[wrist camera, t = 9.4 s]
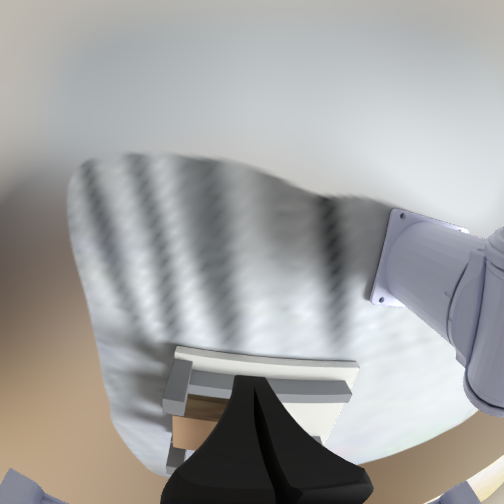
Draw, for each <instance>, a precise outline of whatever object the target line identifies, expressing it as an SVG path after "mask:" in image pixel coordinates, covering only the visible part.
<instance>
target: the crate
mask: <svg viewBox="0 0 504 504" xmlns="http://www.w3.org/2000/svg"><path fill="white" fill-rule="evenodd" d="M228 402H229V399H226V398H218V397H210V396H202V395H196V394H189V393H188V396H187V401H186V406H185V412H184V416H178V415H172V424H173V447H176V448H182V449H188V450H195V451H196V450H197V449H198V448H199V447H200V446H201V445H202V444H203V442H204V441H205V440H206V439H207V437H208V436H209V435H210V433H211V432H212V431H213V429H214V428H215V426H216V424H217V423H218V421H219V420H220V418H221V416H222V414H223V412H224V410H225V408H226V406H227V404H228Z"/></svg>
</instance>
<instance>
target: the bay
mask: <svg viewBox="0 0 504 504" xmlns="http://www.w3.org/2000/svg"><path fill="white" fill-rule="evenodd" d="M359 369H360V366H359V365H358V363H357V362H349V361H314V360H296V359H281V358H269V357H258V356H248V355H239V354H231V353H223V352H215V351H208V350H201V349H195V348H188V347H182V346H177V347H176V350H175V359H174V362H173V365H172V368H171V371H170V375H169V378H168V381H167V384H166V388H165V391H164V394H163V398H162V406H163V413H167V414H172V415H178V416H184V412H185V406H186V401H187V396H188V393H189V394H196V395H202V396H210V397H218V398H226V399H230V396H231V393H232V387H233V381H234V376H236V375H247V376H259V377H265V378H266V379H267V380H268V382H269V384H270V386H271V387H272V389H273V391H274V392H275V394H276V395H277V397H278V398H279V400H280V401H281V403H282V404H283V405H284V407H285V408H286V410H287V411H288V412H289V413H290V415H291V416H292V417H293V418H294V419H295V421H296V422H297V423H298V424H299V425H300V426H301V427H302V428H303V429H304V430H305V431H306V432H307V433H308V434H309V435H310V436H311V437H313V438H314V439H315V440H316V441H317V442H319V443H320V444H321V445H324V443H325V441H326V440H327V438H328V436H329V434H330V432H331V430H332V428H333V426H334V424H335V422H336V420H337V418H338V416H339V414H340V412H341V410H342V408H343V406H344V404H345V403H348V402H349V400H350V398H351V396H352V393H351V391H350V390H351V388H352V386H353V384H354V381H355V379H356V376H357V374H358V372H359ZM186 452H187V449H182V448H176V447H173V432H172V437H171V444H170V449H169V454H168V459H167V464H166V470H167V474H173V472H174V471H175V469H177V468H178V467H179V466H180V465H181V464H183V463H184V462H185V458H186Z"/></svg>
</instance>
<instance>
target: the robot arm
mask: <svg viewBox="0 0 504 504" xmlns="http://www.w3.org/2000/svg"><path fill="white" fill-rule="evenodd" d="M401 214H403V217H402V218H400V215H401ZM458 230H459V231H458ZM381 297H382V300H381V301H379V299H380V298H381ZM370 302H371V303H372V304H374V305H382V306H394V307H407V308H408V309H410V310H411V311H412V312H413V313H415V314H416V315H417V316H418V317H419V318H421V319H422V320H423V321H424V322H425V323H427V324H428V325H429V326H430V327H431V328H432V329H434V330H435V331H436V332H437V333H438V334H440V335H441V336H442V337H443V338H444V339H445V340H446V341H448V342H449V343H450V344H451V345H452V346H453V347H454V348H455V349H456V360H457V361H458V362H459V363H460V364H461V365H462V366H464V367H465V368H466V369H465V373H464V377H463V387H464V391H465V393H466V396H467V398H468V399H469V400H470V402H471V403H472V404H473V405H474V406H475V407H476V408H478V409H479V410H480V411H482V412H484V413H486V414H489V415H491V416H496V417H504V227H502V228H499V229H498V230H496V231H495V232H494V233H493V234H492V235H491V236H489V237H488V238H487V239H483V238H480V237H477V236H474V235H471V234H469V231H468V230H467V229H465V228H462V227H459V226H456V225H453V224H450V223H447V222H443V221H440V220H437V219H433V218H430V217H426V216H423V215H419V214H416V213H412V212H409V211H405V210H401V209H397V208H394V209H393V210H392V211H391V214H390V219H389V224H388V228H387V233H386V237H385V242H384V246H383V250H382V255H381V259H380V263H379V266H378V270H377V274H376V278H375V281H374V285H373V289H372V292H371V295H370ZM372 492H373V485H372V483H371V480H370V478H369V476H368V474H367V473H366V471H365V469H364V468H361V467H359V466H357V465H355V464H353V463H351V462H348V461H346V460H345V459H343V458H341V457H339V456H338V455H336V454H334V453H333V452H331V451H330V450H328V449H327V448H325V447H324V446H323V445H321V444H320V443H319V442H317V441H316V440H315V439H314V438H313V437H311V436H310V435H309V434H308V433H307V432H306V431H305V430H304V429H303V428H302V427H301V426H300V425H299V424H298V423H297V422H296V421H295V419H294V418H293V417H292V416H291V415H290V413H289V412H288V411H287V410H286V408H285V407H284V405H283V404H282V403H281V401H280V400H279V398H278V397H277V395H276V394H275V392H274V391H273V389H272V387H271V386H270V384H269V382H268V380H267V379H266V378H265V377H259V376H247V375H236V376H234V381H233V387H232V393H231V396H230V399H229V402H228V404H227V406H226V408H225V410H224V412H223V414H222V416H221V418H220V420H219V421H218V423H217V424H216V426H215V428H214V429H213V431H212V432H211V433H210V435H209V436H208V437H207V439H206V440H205V441H204V442H203V444H202V445H201V446H200V447H199V448H198V449H197V450H196V451H195V452H194V453H193V454H192V455H191V456H190V457H189V458H188V459H187V460H186V461H185V462H184V463H183V464H181V465H180V466H179V467H178V468H177V469H175V471H174V472H173V474H172V475H171V477H170V479H169V480H168V482H167V483H166V485H165V487H164V489H163V492H162V495H161V501H160V504H363V503H364V502H365V501H366V500H367V499H368V497H369V496H370V495H371V494H372ZM0 504H68V503H66V502H63V501H61V500H59V499H57V498H54V497H52V496H50V495H48V494H46V493H44V491H43V490H42V488H41V487H40V486H39V485H38V484H37V483H36V482H34V481H33V480H31V479H29V478H28V477H26V476H24V475H22V474H20V473H18V472H17V471H15V470H13V469H12V468H9V470H8V472H7V474H6V475H5V477H4V479H3V481H2V483H1V485H0ZM428 504H481V502H480V500H479V499H478V497H477V496H476V494H475V493H474V491H473V490H472V488H471V487H470V485H469V484H468V482H467V481H464V482H462V483H460V484H458V485H456V486H454V487H452V488H451V489H449V490H447V491H446V492H445V493H444V494H443V495H442V496H441V497H440V498H439V499H437V500H435V501H433V502H430V503H428Z"/></svg>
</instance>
